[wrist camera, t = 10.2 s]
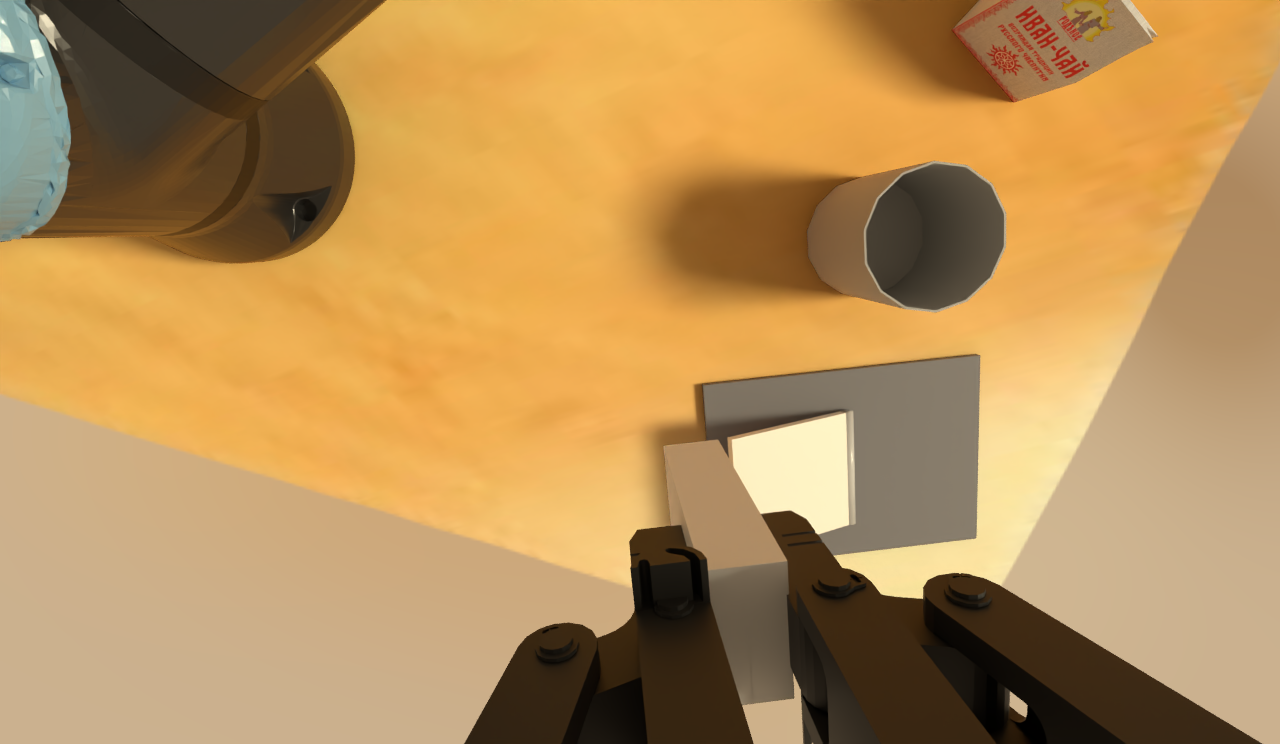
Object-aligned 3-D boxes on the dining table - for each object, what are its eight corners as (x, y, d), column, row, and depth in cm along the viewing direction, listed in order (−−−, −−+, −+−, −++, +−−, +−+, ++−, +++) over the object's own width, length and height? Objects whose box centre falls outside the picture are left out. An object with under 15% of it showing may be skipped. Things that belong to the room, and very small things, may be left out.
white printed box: (991, -14, 43) (1108, -88, 33) (1053, 61, 44) (1183, 11, 34) (951, 29, 43) (1054, -31, 33) (1013, 102, 44) (1130, 64, 34)
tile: (732, 440, 43) (726, 436, 44) (741, 559, 45) (734, 554, 46) (856, 411, 47) (847, 408, 48) (858, 523, 49) (850, 518, 50)
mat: (702, 383, 47) (703, 385, 47) (976, 354, 48) (980, 355, 47) (716, 566, 50) (717, 569, 50) (972, 535, 51) (976, 538, 51)
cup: (797, 288, 46) (850, 303, 36) (816, 171, 44) (877, 153, 35) (908, 300, 47) (989, 318, 37) (931, 185, 45) (1022, 172, 35)
